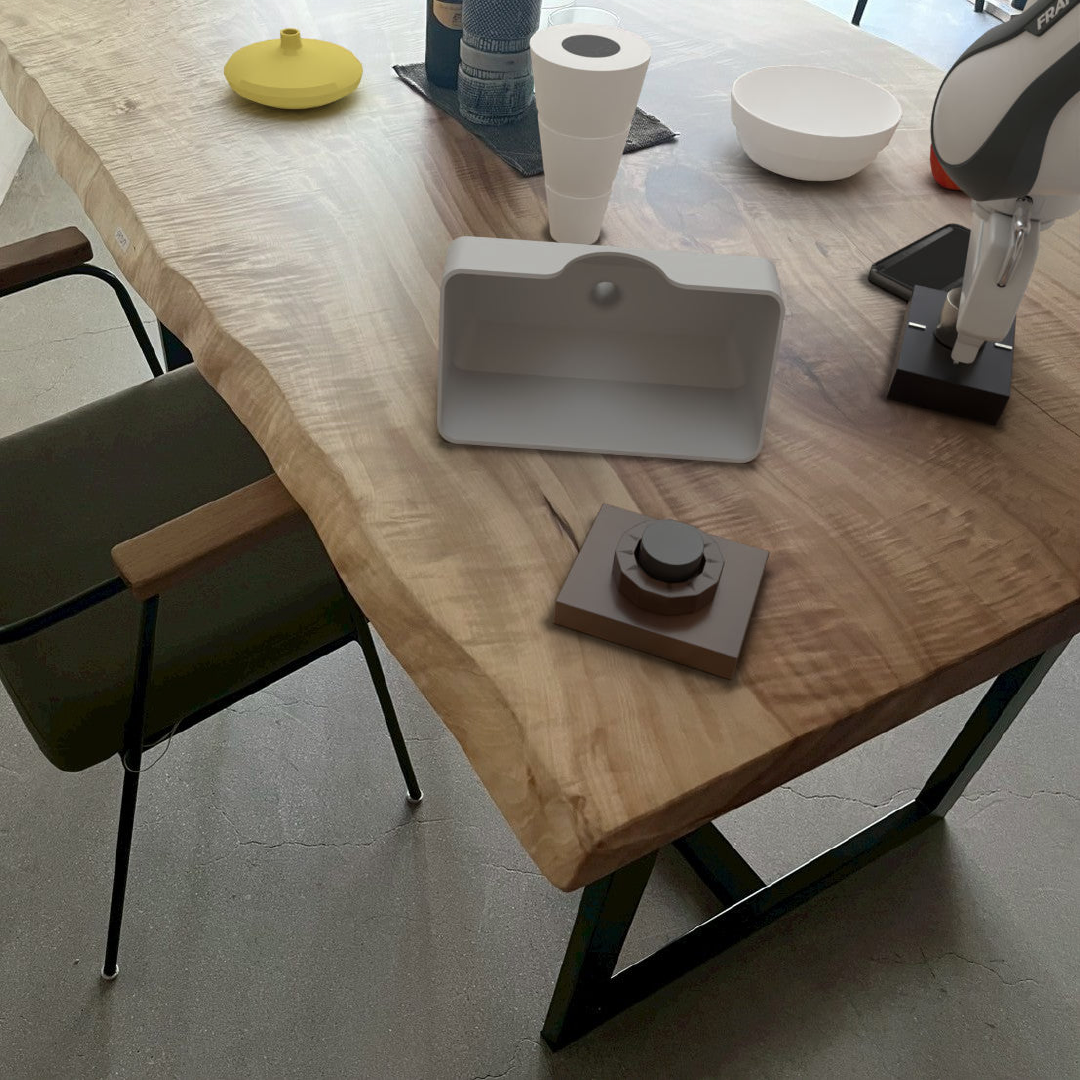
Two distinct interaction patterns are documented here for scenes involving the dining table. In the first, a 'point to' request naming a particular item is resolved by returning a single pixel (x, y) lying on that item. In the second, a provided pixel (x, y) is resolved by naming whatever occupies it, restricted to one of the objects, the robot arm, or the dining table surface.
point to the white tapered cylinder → (584, 118)
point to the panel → (948, 366)
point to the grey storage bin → (607, 349)
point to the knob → (949, 319)
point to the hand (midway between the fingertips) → (965, 327)
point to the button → (671, 551)
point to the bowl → (812, 120)
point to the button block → (662, 595)
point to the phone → (925, 263)
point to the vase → (293, 71)
